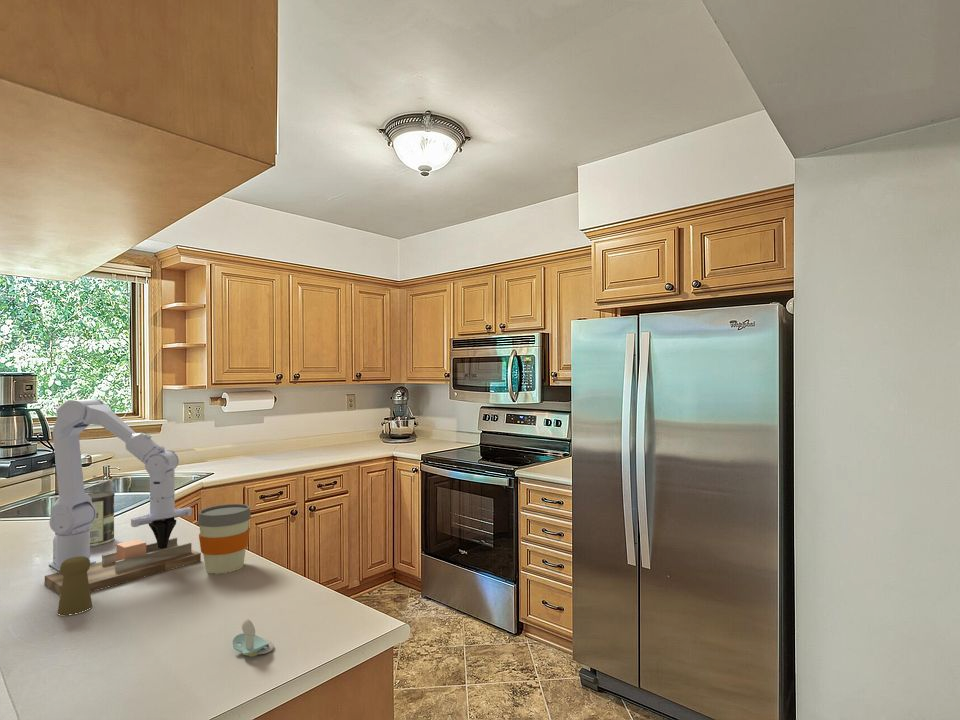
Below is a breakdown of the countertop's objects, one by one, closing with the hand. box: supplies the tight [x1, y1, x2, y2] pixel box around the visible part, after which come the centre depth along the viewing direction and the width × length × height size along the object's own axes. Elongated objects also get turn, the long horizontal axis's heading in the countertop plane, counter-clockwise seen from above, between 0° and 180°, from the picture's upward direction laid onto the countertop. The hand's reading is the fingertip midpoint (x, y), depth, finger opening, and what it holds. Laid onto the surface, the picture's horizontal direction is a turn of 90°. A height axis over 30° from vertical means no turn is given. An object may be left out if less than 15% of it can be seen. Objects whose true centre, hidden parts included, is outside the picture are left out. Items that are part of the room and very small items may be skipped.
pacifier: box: [232, 618, 275, 657], centre depth 98 cm, size 7×6×6 cm
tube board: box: [44, 537, 202, 595], centre depth 139 cm, size 15×30×4 cm, turn 144°
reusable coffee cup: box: [197, 503, 252, 575], centre depth 141 cm, size 13×13×15 cm
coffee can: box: [87, 491, 115, 547], centre depth 165 cm, size 10×10×14 cm
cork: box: [57, 556, 93, 615], centre depth 117 cm, size 6×6×11 cm
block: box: [115, 538, 147, 561], centre depth 140 cm, size 5×5×5 cm
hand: (162, 547), depth 146 cm, fingers closed
